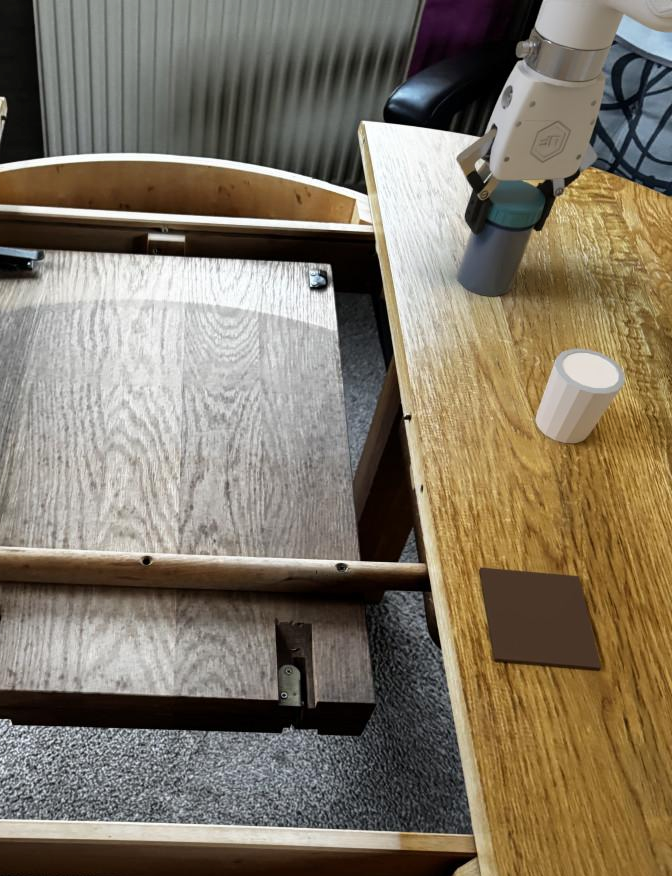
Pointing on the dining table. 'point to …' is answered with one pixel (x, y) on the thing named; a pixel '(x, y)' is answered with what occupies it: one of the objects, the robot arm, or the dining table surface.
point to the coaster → (538, 619)
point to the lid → (516, 204)
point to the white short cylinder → (578, 394)
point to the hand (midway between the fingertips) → (503, 224)
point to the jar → (493, 258)
